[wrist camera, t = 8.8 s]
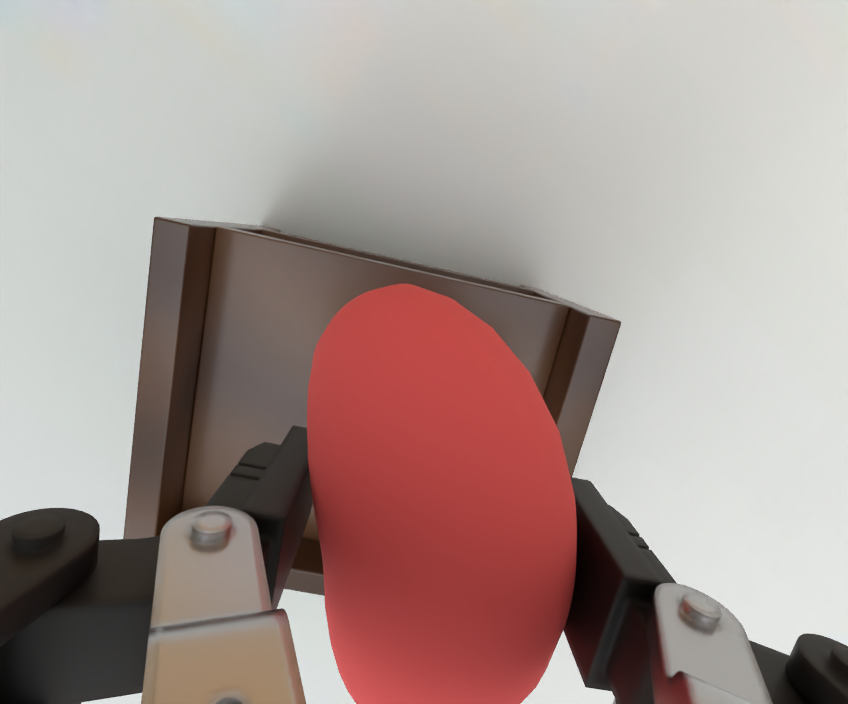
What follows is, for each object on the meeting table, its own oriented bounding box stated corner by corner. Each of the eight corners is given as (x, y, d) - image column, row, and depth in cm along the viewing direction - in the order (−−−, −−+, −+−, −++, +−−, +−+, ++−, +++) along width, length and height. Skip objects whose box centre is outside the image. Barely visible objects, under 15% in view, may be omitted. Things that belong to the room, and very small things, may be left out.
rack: (259, 225, 26) (153, 216, 16) (540, 289, 27) (622, 321, 17) (228, 442, 29) (120, 561, 18) (484, 492, 30) (523, 631, 19)
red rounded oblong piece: (588, 341, 13) (606, 252, 7) (559, 716, 11) (550, 1023, 5) (402, 328, 14) (281, 248, 8) (358, 657, 13) (177, 844, 7)
